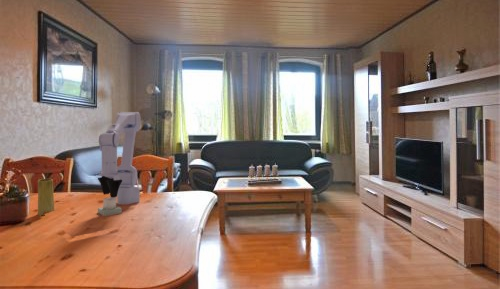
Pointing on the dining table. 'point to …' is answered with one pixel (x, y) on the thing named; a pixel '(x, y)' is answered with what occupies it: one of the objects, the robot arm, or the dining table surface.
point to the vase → (45, 196)
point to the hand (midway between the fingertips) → (110, 195)
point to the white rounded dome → (109, 203)
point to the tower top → (109, 211)
